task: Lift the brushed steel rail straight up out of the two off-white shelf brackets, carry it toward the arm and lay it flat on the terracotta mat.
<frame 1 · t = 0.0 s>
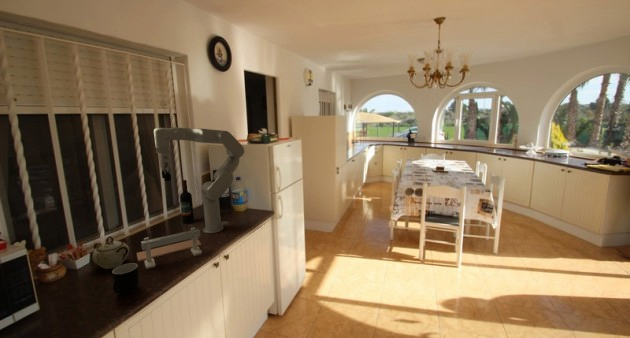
hand: (166, 179, 168), 37 cm above the countertop, tool pointing down, fingers open, 9 cm apart
terracotta mat: (170, 249, 160), on the countertop
sugar bowl: (113, 265, 144), on the countertop
wine bottle: (188, 222, 202), on the countertop
mug: (126, 293, 121), on the countertop
shelf brackets: (174, 258, 150), on the countertop
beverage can: (208, 216, 215), on the countertop
steel rail: (172, 241, 148), point 9 cm above the countertop, touching shelf brackets
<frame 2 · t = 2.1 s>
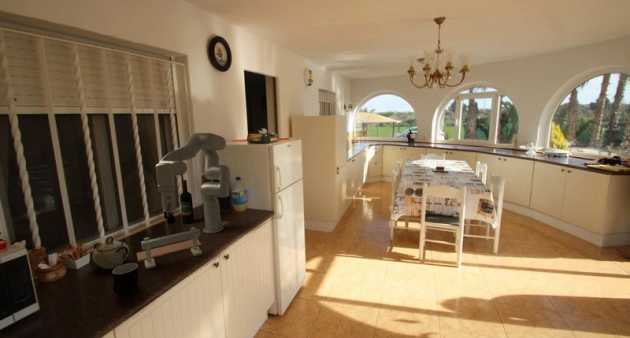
hand: (169, 221, 146), 20 cm above the countertop, tool pointing down, fingers open, 9 cm apart
nothing on the countertop moved.
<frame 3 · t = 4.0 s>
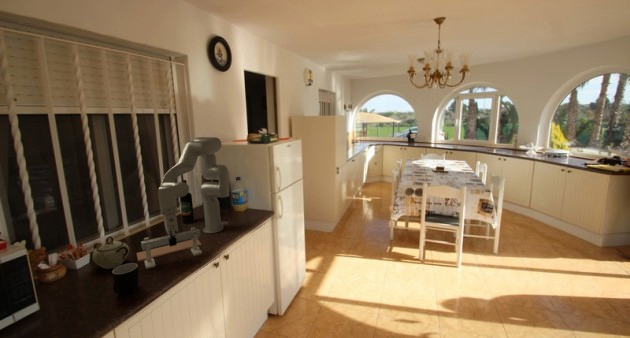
hand: (172, 243, 149), 8 cm above the countertop, tool pointing down, fingers closed on steel rail, 3 cm apart
steel rail: (172, 241, 148), point 9 cm above the countertop, touching gripper, shelf brackets
everything else where it was.
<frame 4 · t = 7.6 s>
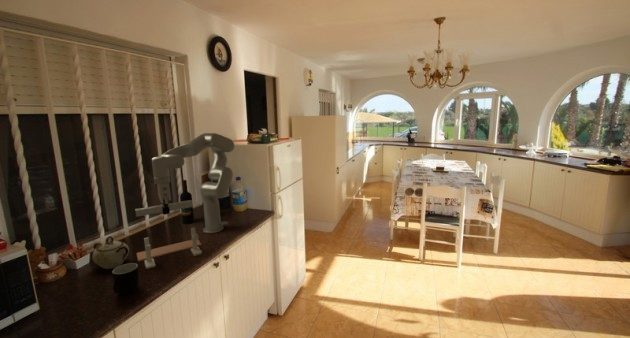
hand: (165, 212, 156), 21 cm above the countertop, tool pointing down, fingers closed on steel rail, 3 cm apart
steel rail: (165, 210, 156), point 23 cm above the countertop, touching gripper
everything else where it was.
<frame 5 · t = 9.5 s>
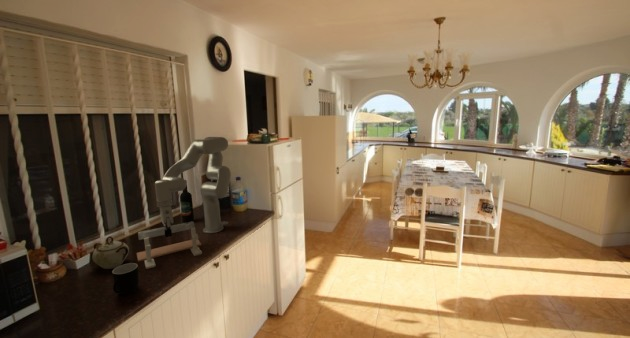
hand: (168, 234, 158), 9 cm above the countertop, tool pointing down, fingers closed on steel rail, 3 cm apart
steel rail: (167, 232, 158), point 10 cm above the countertop, touching gripper
everything else where it was.
when the fingers open (2 cm above the countertop, at t = 11.2 s): steel rail drops 2 cm, resting on terracotta mat.
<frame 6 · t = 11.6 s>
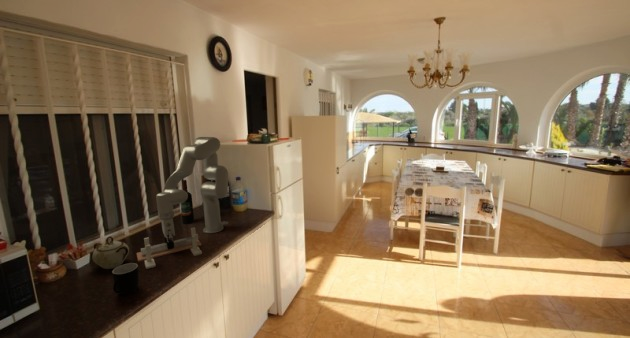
hand: (169, 245, 159), 2 cm above the countertop, tool pointing down, fingers open, 7 cm apart
steel rail: (170, 248, 160), point 1 cm above the countertop, touching terracotta mat
everything else where it was.
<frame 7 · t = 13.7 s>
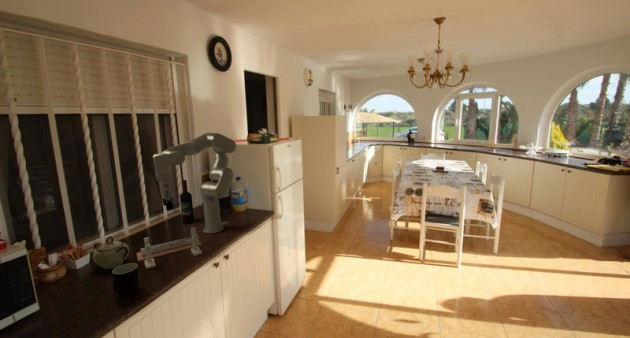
hand: (168, 207, 158), 24 cm above the countertop, tool pointing down, fingers open, 9 cm apart
nothing on the countertop moved.
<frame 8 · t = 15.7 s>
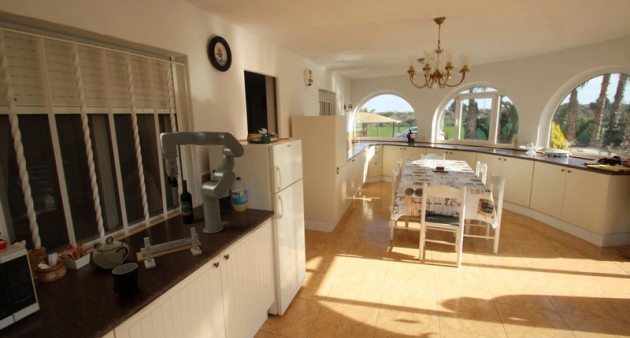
hand: (173, 185, 163), 34 cm above the countertop, tool pointing down, fingers open, 9 cm apart
nothing on the countertop moved.
at the end: steel rail inside the target area (0.1 cm from its centre), point 0.8 cm above the countertop; steel rail tilted 0°; the gripper is holding nothing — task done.
